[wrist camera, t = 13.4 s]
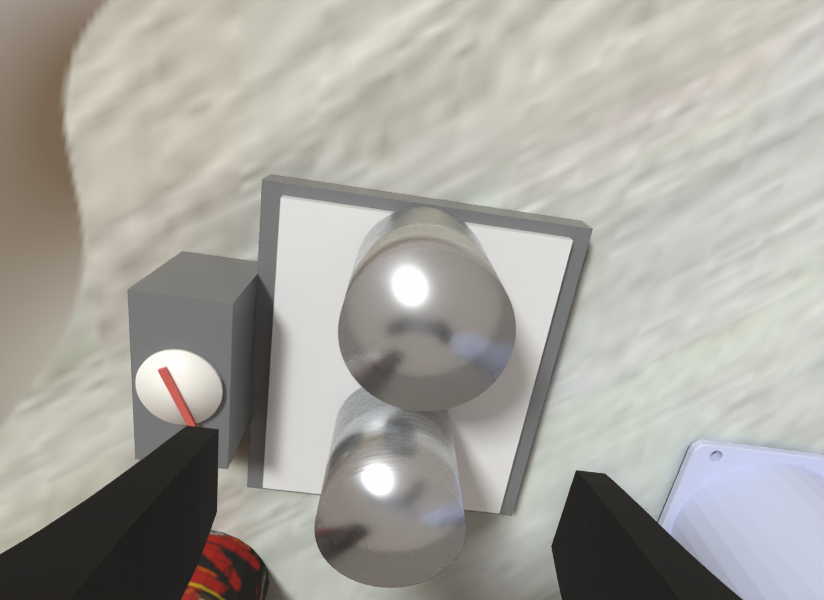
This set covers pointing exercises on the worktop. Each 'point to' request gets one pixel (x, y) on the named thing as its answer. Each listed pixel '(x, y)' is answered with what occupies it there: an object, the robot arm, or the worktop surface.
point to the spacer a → (390, 494)
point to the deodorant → (227, 572)
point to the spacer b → (425, 313)
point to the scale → (334, 338)
